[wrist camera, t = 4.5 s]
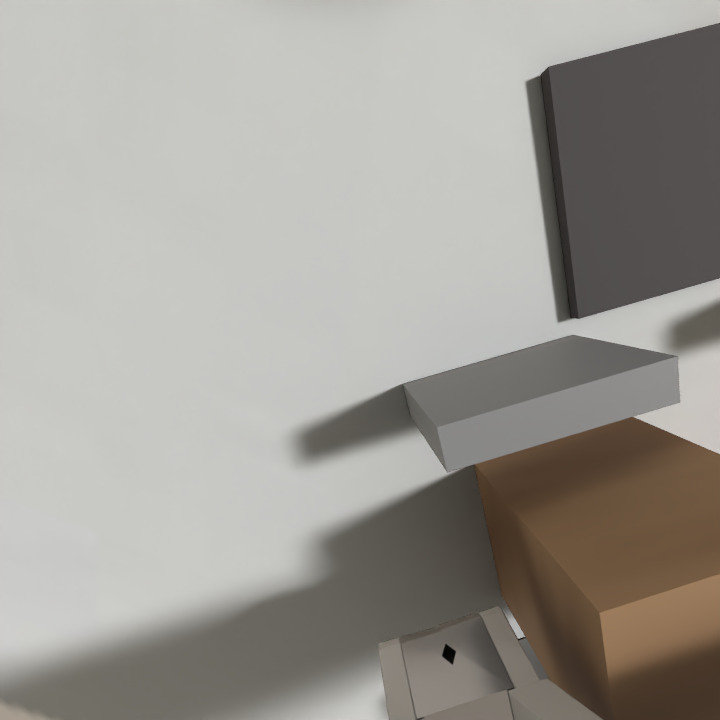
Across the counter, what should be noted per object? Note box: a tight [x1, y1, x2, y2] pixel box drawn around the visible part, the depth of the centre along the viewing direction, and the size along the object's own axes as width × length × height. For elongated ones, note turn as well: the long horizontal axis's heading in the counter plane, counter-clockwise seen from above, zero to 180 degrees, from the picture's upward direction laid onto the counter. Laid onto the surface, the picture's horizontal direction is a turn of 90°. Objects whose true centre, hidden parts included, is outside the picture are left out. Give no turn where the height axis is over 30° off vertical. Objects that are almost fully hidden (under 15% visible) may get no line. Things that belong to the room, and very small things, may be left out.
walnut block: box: [474, 417, 720, 720], centre depth 9 cm, size 5×5×5 cm
